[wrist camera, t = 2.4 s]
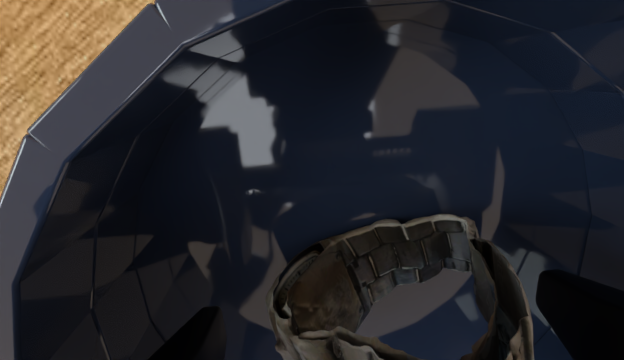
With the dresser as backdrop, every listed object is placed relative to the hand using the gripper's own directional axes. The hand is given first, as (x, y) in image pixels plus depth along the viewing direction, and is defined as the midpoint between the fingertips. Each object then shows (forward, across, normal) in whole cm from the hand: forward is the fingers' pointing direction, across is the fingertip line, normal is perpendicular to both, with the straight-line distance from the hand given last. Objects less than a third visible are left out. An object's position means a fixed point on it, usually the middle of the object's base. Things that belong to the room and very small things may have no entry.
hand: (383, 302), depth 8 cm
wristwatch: (+2, 0, 0) cm, 2 cm away
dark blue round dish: (+2, 0, 0) cm, 2 cm away
